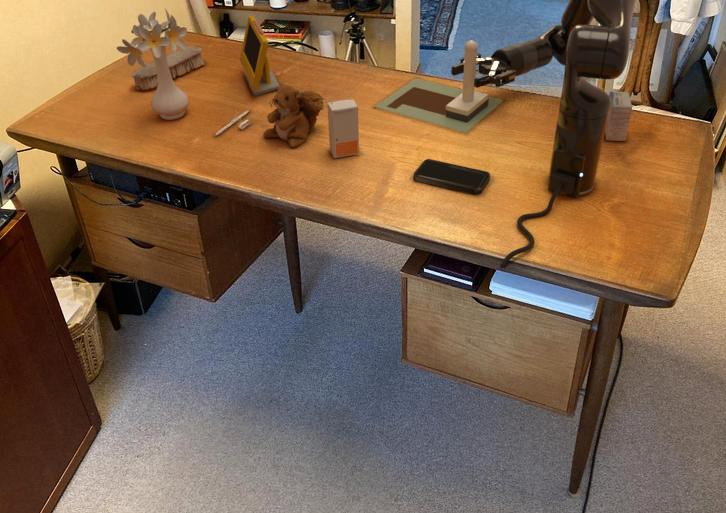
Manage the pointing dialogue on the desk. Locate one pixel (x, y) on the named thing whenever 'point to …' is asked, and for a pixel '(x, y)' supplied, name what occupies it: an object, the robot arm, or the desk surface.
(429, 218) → the desk surface
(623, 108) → the medicine box
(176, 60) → the shoe brush
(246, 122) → the pen with cap
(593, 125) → the robot arm
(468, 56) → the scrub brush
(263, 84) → the yellow framed monitor
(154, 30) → the flower vase
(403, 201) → the desk surface
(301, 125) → the stuffed squirrel
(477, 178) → the phone
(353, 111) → the cosmetic box
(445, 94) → the desk mat
